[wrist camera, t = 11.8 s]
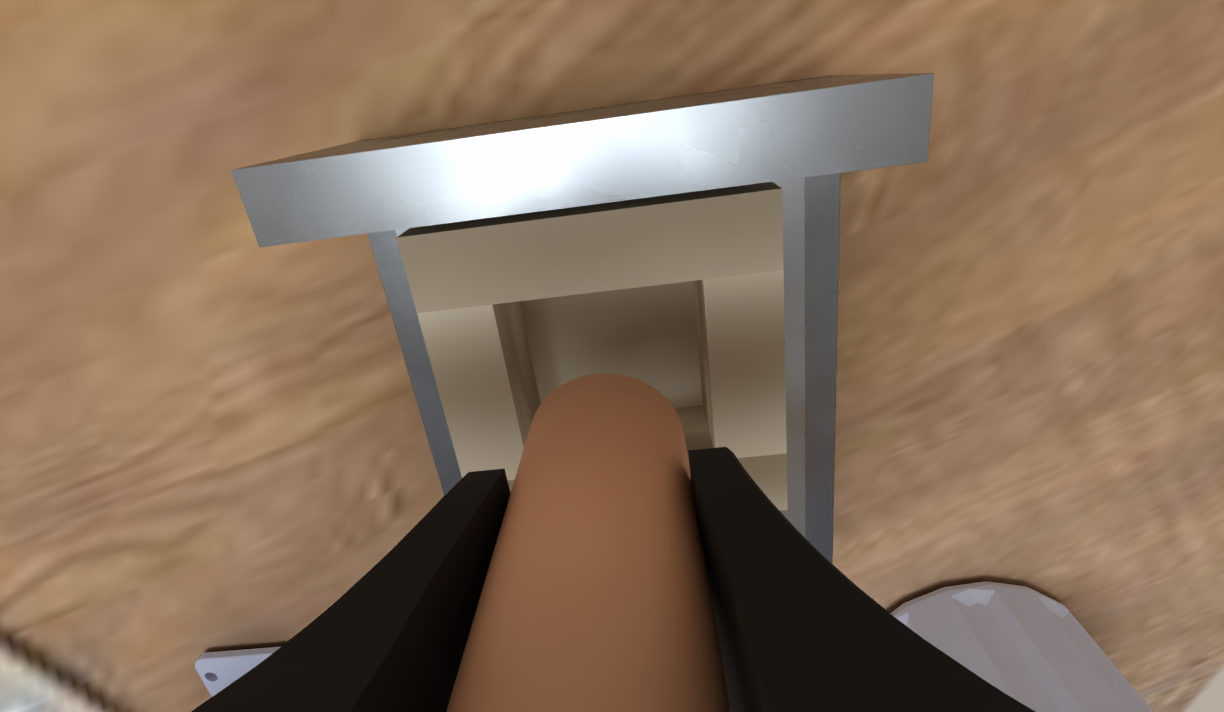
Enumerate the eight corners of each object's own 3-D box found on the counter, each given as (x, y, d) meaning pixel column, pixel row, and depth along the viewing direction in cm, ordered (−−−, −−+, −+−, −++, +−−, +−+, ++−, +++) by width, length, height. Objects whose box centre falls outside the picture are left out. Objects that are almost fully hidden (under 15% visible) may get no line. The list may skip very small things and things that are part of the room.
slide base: (823, 547, 23) (887, 696, 17) (480, 577, 24) (436, 727, 18) (829, 75, 16) (933, 72, 11) (356, 141, 17) (231, 170, 12)
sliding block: (756, 428, 19) (787, 509, 16) (505, 453, 20) (478, 538, 16) (746, 163, 16) (782, 188, 12) (446, 202, 17) (395, 237, 13)
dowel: (695, 495, 12) (769, 939, 6) (549, 518, 13) (466, 964, 6) (671, 360, 11) (729, 725, 5) (511, 388, 11) (360, 766, 5)
